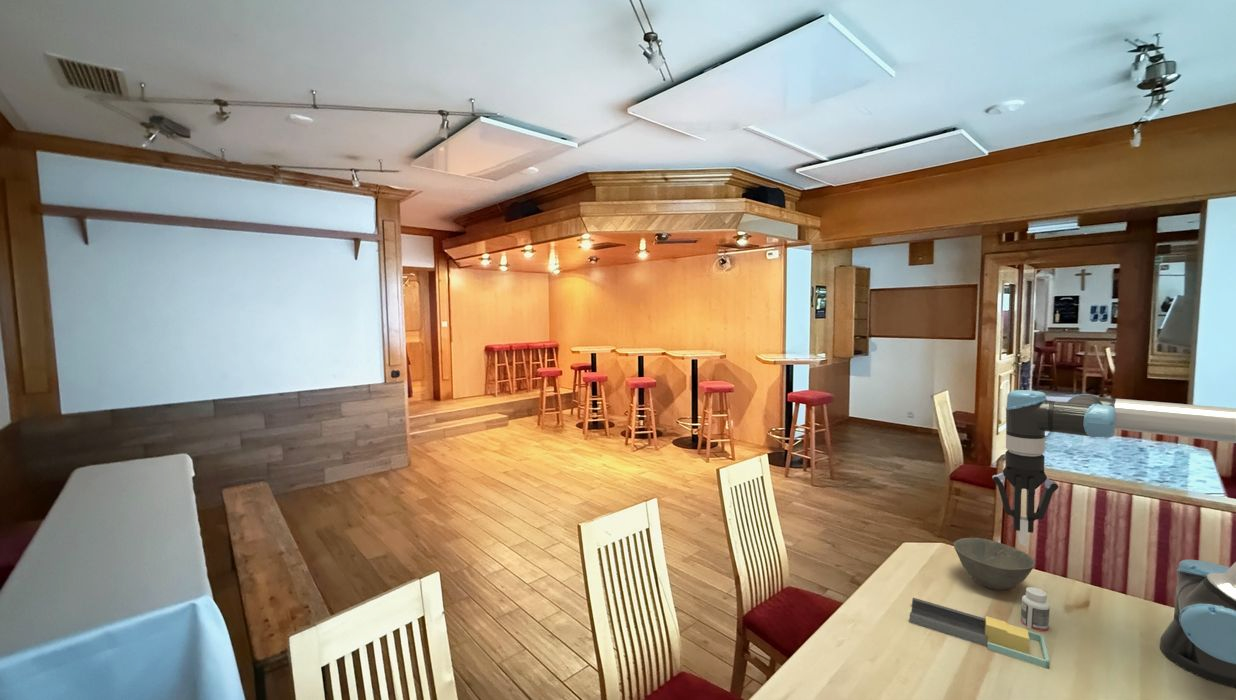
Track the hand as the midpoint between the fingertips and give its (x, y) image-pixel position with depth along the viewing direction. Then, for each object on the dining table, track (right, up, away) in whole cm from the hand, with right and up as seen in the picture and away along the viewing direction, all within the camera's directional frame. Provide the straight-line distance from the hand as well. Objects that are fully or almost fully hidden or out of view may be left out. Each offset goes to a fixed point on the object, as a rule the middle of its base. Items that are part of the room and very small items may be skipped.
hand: (1022, 543), depth 123 cm
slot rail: (-19, -22, +1) cm, 29 cm away
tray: (-8, -23, -7) cm, 25 cm away
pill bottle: (+3, -22, +1) cm, 22 cm away
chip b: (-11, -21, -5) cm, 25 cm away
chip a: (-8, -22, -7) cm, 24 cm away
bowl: (+7, -20, +20) cm, 29 cm away
